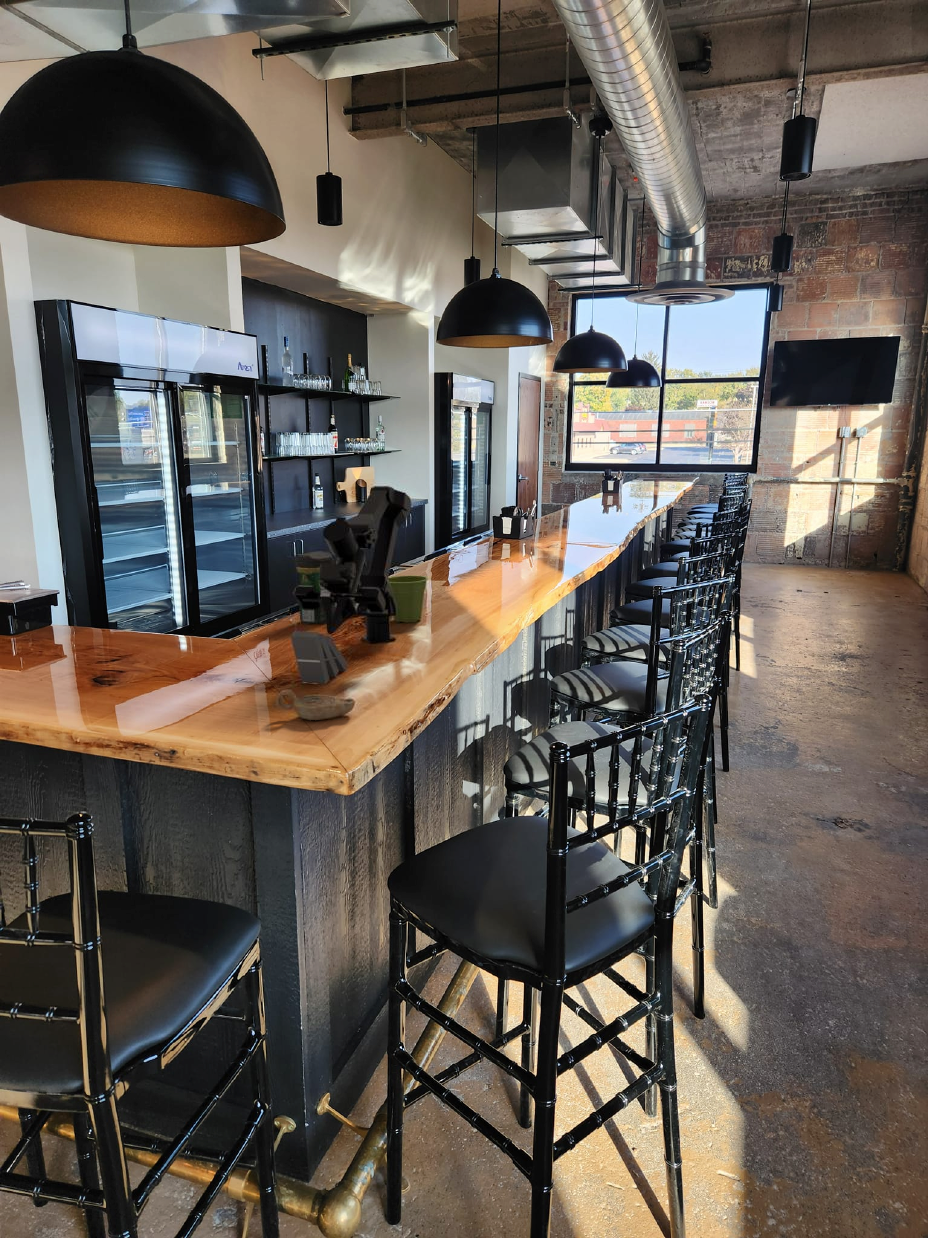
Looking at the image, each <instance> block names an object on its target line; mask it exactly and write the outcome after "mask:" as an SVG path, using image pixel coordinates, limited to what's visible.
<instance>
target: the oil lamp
mask: <svg viewBox="0 0 928 1238" xmlns="http://www.w3.org/2000/svg"><path fill="white" fill-rule="evenodd" d="M284 695H286V696H289V697H290V698H291V700H292V702H291V704H285V703H283V702H282V699H281V697H283V696H284ZM275 702H276V706H277V707H278V708H279V709H281V710H283V711H291V710H294V711H295V712H296V715H297V716H298V717H299V718H302V719H303V720H306V719H307V721H311V720H315V721H322V720H328V719H333V718H338V717H341V716H344V715H347V714H348V713H350V712H351V711H352V710H353V709H354V708H355V704H356V700H355V699H353V698H351V697H349V698H340V697H339V696H338V695H337V696H335V695H334V696H333V695H328V694H327V695H326V694H307V695H302V696H299V697H296V694H295V693H294V692H293V691H292V690H290V689H283V690H281V691H280V692H279V693H278V695H277V696H276V700H275Z"/></svg>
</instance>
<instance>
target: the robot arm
mask: <svg viewBox="0 0 928 1238" xmlns="http://www.w3.org/2000/svg"><path fill="white" fill-rule="evenodd" d="M411 509H412V498H411V496H409V495H408V494H407V493H406V492H404V491H400V490H397V489H395V488H394V487H392V486H390V485H387V486H386V485H375V486H372V487H370V490H369V495H368V497H367V498H366V500H365V502H364V503H363V505H362V506H361V509H360V510H359V512H357V515H355V516H352V517H351V518H348V519H347V518H346V516H337V517H336V519H335V520H333V521H331V522H329V523H328V524H327V525H326V526H325V527H324V528H323V530H322V534H323V535H322V536H323V538H324V539H325V542H326V544H327V546H328V547H329V550H330V553H331V555H332V556H334V557H336V562H335V563H333V564H320V571H319V580H322V581H323V582H324V584H323V586H324V588H325V589H327V590H328V591H327V590H321V591H320V592H321V593H318V592H317V590H316V588H315V587H314V586H305V585H300V584H299V585H297V586H295V588H294V591H293V593H292V596H293V598H294V600H295V601H296V602H297V604H298V606H299V608H300V607H301V609H303V610H317V609H318V608H320V605H321V607H322V609H323V610H324V612H325V614H326V622H325V624H326V632H327V634H328V635H333V634H334V633H335V632H336V631H337V630H338V629H339V628H340V627H341V626H342V625H343V624H345V622H346V621H348V620H349V619H350V618H351V617H352V616H359V617H360V616H364V617H365V618H364V619H365V635H362V636H360V640H363V641H366V642H368V643H369V644H378V643H385V642H391V641H392V642H393V641H396V639H397V637H395V636H392V635H391V625H390V623H391V622H390V620H391V619H390V618H392V617H393V616H396V615H397V610H398V608H397V602H396V600H395V598H394V596H393V593H392V588H391V586H390V583H389V581H388V578H389V577H390V576H389V575H390V570H391V566H392V562H393V556H394V552H395V551H394V550H395V545H396V540H397V536H398V531H399V528H400V527H401V526H402V525H404V523H405V522H406V521H407V519H408V515H409V512H410V511H411ZM377 526H378V528H377ZM376 528H377V529H376ZM371 549H373V552H372V556H371V559H370V560H371V561H370V565H369V569H368V573H366V574H362V571H363V569H364V568H367V566H368V565H367V560H366V557H367V556H366V554H365V552H364V550H371ZM335 606H336V607H335Z"/></svg>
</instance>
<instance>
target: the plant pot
mask: <svg viewBox="0 0 928 1238" xmlns="http://www.w3.org/2000/svg"><path fill="white" fill-rule="evenodd" d="M428 580H429V577H427V576H424V575H397V576H391V577H390V576H389V577H388V581H389V583H390V586H391V588H392V593H393V596H394V598H395V600H396V602H397V608H398V610H397V615H396V616H392V617H393V621H395V622H397V623H400V622H402V623H405V624H408V623H409V624H410V623H416V622H418V621H421V619H422V615H423V605H424V604H423V603H424V598H425V590H426V587H427V581H428Z"/></svg>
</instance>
